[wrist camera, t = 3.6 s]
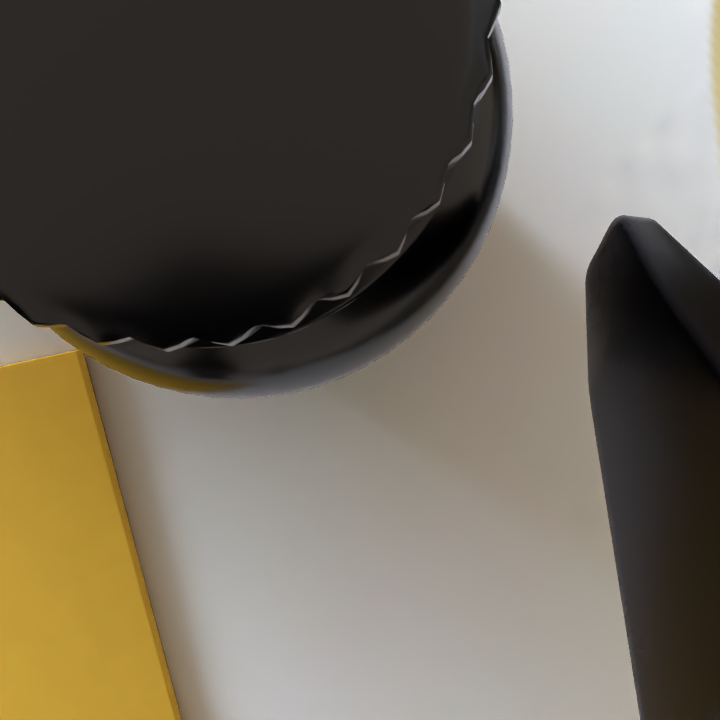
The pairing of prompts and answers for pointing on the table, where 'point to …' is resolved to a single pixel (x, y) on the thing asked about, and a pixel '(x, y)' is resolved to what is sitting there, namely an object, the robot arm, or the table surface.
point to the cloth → (69, 560)
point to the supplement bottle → (246, 179)
